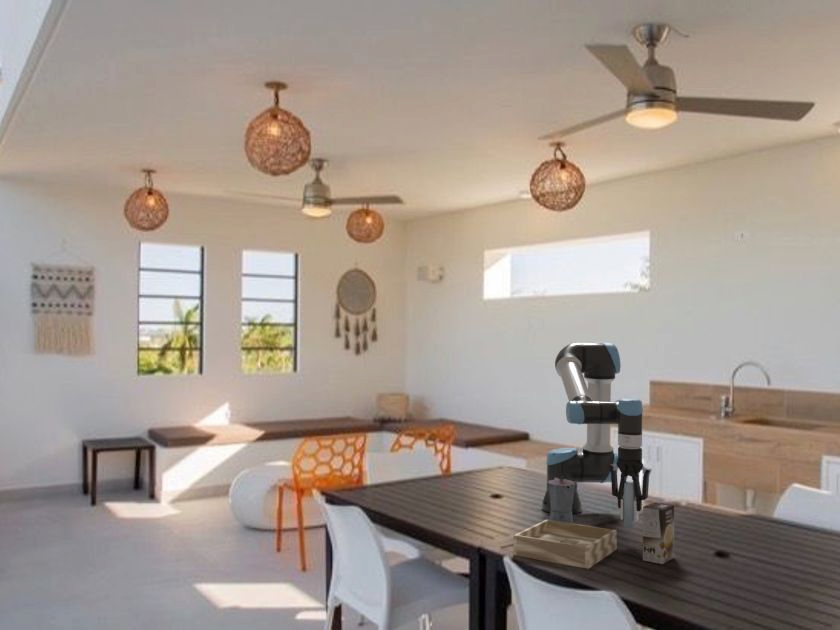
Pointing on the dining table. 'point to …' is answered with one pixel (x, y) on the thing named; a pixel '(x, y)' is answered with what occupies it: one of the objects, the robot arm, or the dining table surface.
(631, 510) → the peg
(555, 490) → the moka pot
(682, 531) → the dining table surface
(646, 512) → the coffee box
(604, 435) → the robot arm
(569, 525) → the box
